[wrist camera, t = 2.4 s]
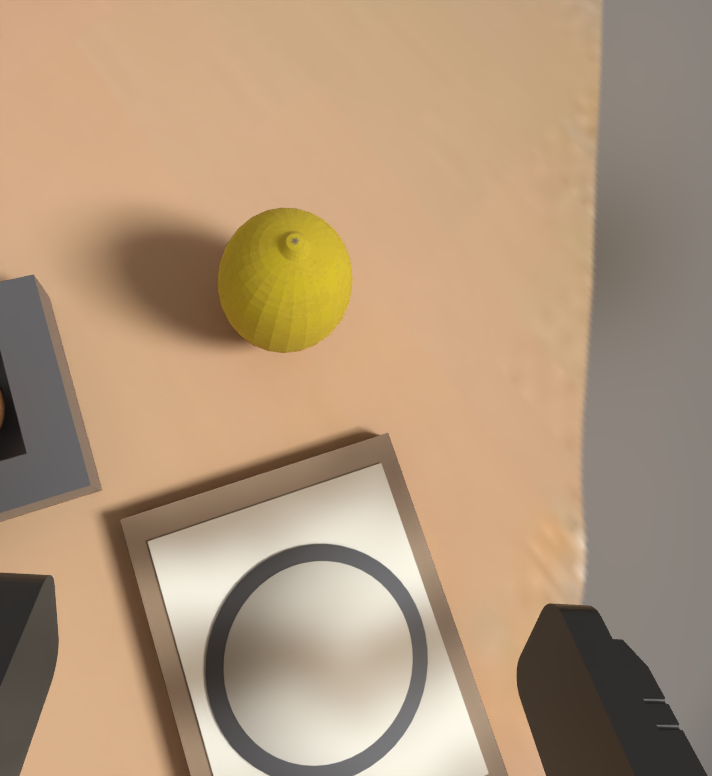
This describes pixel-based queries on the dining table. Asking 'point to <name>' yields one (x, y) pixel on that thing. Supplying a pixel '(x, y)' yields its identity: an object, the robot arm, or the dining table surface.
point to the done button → (2, 407)
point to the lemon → (284, 280)
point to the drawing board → (309, 626)
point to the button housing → (38, 408)
